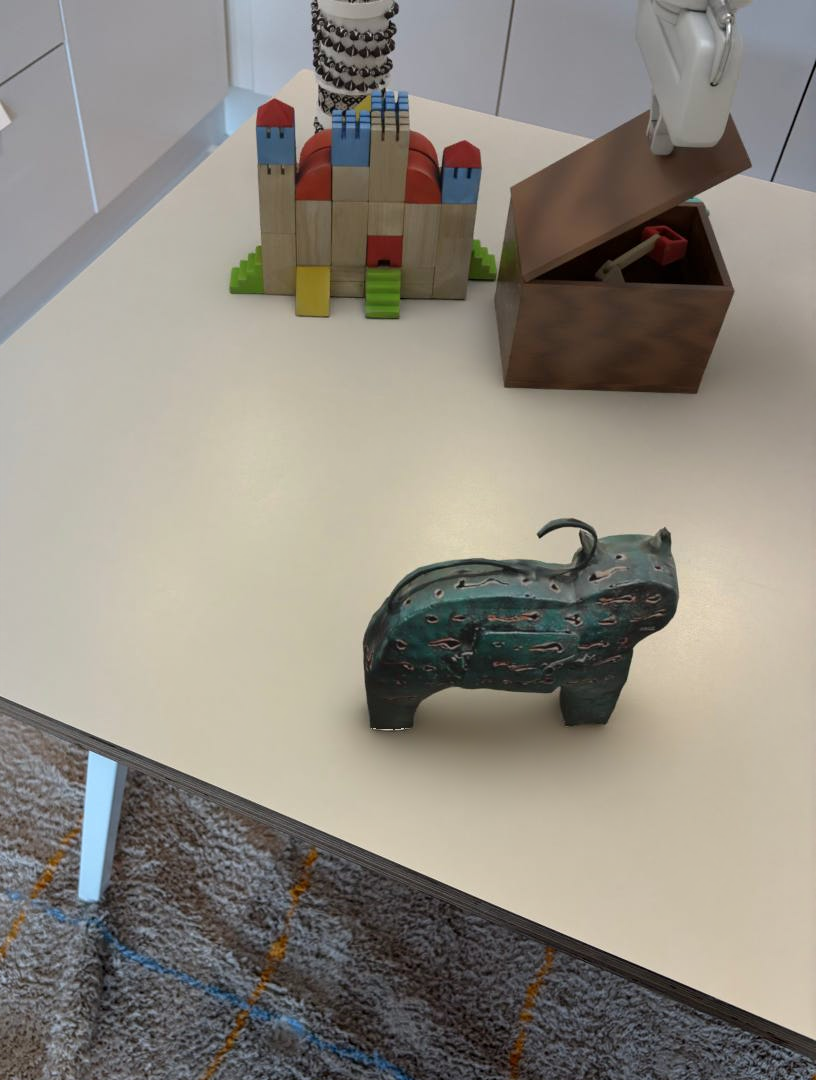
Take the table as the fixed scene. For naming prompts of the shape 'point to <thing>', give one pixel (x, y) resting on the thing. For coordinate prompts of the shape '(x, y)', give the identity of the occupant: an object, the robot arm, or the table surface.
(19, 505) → the table surface
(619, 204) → the chest lid
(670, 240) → the toy fire truck
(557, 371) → the toy chest
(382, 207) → the block set
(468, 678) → the ceramic cat
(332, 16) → the decorative candle
